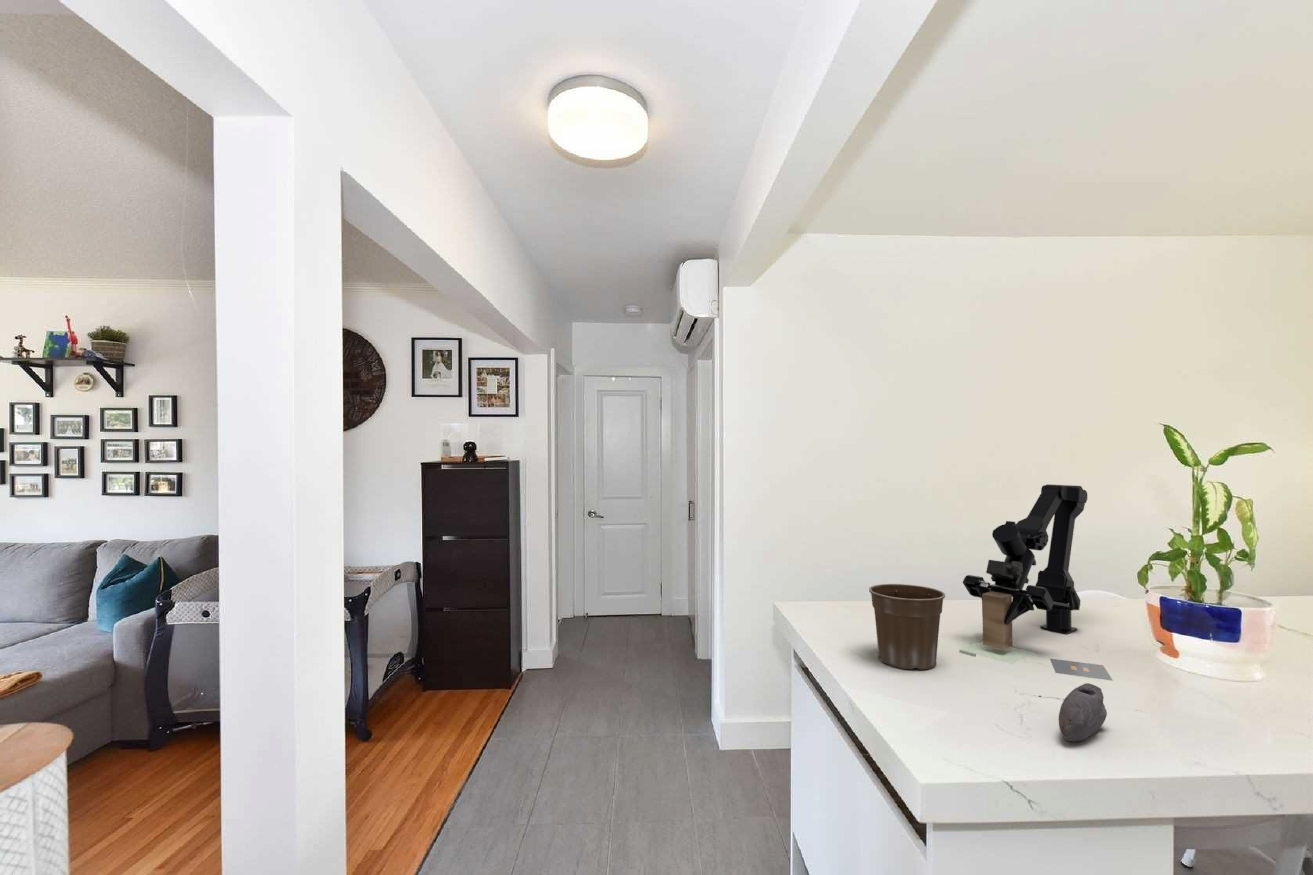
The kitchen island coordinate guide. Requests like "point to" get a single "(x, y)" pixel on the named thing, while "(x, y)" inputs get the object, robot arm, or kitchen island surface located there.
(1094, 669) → the plate
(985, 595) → the walnut post
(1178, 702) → the kitchen island surface
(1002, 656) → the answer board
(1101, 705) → the perforated stone tool
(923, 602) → the plant pot
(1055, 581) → the robot arm
